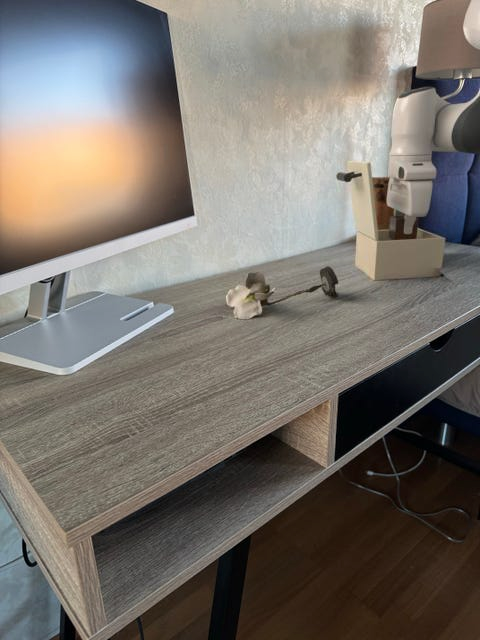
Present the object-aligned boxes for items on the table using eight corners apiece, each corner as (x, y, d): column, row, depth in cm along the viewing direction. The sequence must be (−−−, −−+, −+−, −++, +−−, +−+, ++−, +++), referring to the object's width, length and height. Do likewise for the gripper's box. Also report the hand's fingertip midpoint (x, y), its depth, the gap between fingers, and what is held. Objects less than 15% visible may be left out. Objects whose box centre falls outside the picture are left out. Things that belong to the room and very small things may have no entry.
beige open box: (414, 262, 114) (417, 227, 111) (440, 276, 102) (445, 238, 98) (354, 265, 113) (356, 231, 110) (374, 280, 101) (376, 241, 98)
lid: (350, 160, 104) (330, 165, 104) (370, 162, 91) (347, 167, 91) (358, 229, 110) (339, 233, 110) (378, 239, 97) (357, 244, 97)
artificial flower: (345, 309, 87) (350, 266, 81) (237, 338, 83) (232, 294, 77) (325, 286, 94) (327, 244, 88) (223, 311, 90) (218, 269, 84)
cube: (388, 237, 107) (390, 216, 106) (409, 236, 107) (411, 215, 105) (394, 241, 103) (396, 219, 101) (416, 240, 102) (418, 218, 101)
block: (358, 244, 137) (362, 176, 130) (382, 242, 138) (388, 175, 130) (370, 251, 127) (375, 178, 120) (396, 250, 128) (402, 177, 120)
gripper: (382, 167, 109) (378, 224, 114) (408, 172, 90) (401, 239, 95) (408, 166, 109) (403, 223, 114) (440, 170, 90) (431, 239, 95)
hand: (402, 231), depth 104 cm, fingers closed on cube, 5 cm apart
